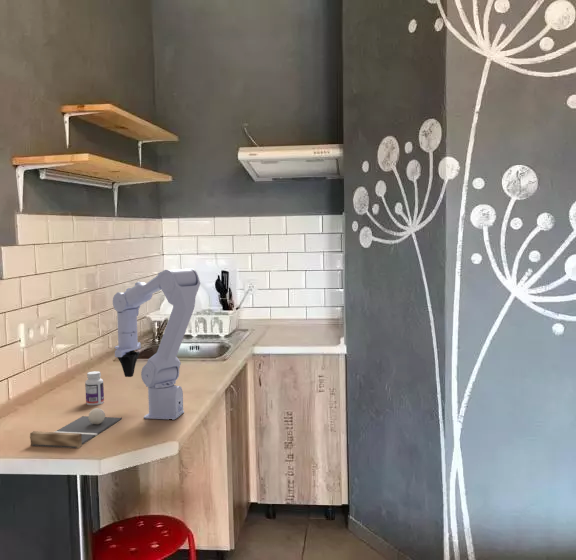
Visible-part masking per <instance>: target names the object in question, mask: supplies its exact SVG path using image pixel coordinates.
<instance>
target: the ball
mask: <svg viewBox="0 0 576 560" xmlns="http://www.w3.org/2000/svg"><path fill="white" fill-rule="evenodd" d="M87 416H88V417H89V421H90V422H91V423H92V424H95V425H97V424H100V423H102V422H103V421H104V419H105V417H106V413H105V411H104V410H103V409H102V408H99V407H96V408H93V409H91V410H90V412H89V413H88V415H87Z"/></svg>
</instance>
